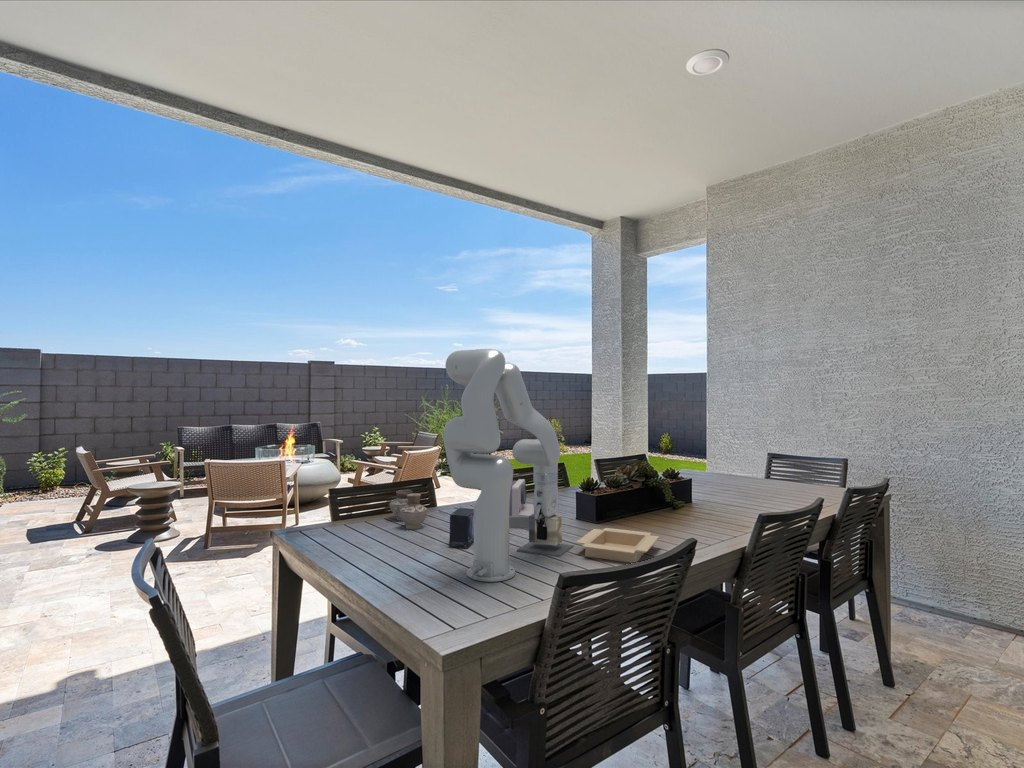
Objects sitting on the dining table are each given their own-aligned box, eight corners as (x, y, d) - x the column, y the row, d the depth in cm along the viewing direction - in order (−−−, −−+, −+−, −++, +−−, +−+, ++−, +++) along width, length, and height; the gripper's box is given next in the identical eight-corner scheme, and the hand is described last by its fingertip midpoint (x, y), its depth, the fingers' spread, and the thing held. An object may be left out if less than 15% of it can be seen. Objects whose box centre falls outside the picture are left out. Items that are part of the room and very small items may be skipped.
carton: (644, 568, 148) (644, 554, 148) (572, 558, 157) (572, 544, 157) (660, 546, 169) (660, 534, 169) (596, 538, 179) (596, 526, 179)
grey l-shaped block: (530, 531, 189) (530, 488, 190) (475, 526, 196) (475, 485, 196) (545, 518, 209) (545, 479, 210) (495, 514, 216) (495, 477, 216)
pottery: (401, 532, 187) (401, 498, 187) (386, 517, 209) (386, 486, 209) (433, 529, 191) (433, 495, 192) (415, 515, 214) (415, 484, 214)
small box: (468, 549, 166) (468, 515, 167) (448, 548, 168) (448, 514, 168) (477, 540, 177) (477, 508, 177) (458, 539, 178) (458, 507, 178)
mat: (559, 557, 158) (559, 555, 158) (516, 551, 164) (516, 549, 164) (573, 547, 168) (573, 545, 168) (532, 541, 175) (532, 540, 175)
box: (556, 545, 162) (556, 518, 162) (528, 541, 166) (528, 515, 166) (561, 541, 166) (561, 515, 167) (535, 538, 170) (535, 512, 171)
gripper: (546, 483, 157) (546, 545, 157) (566, 475, 173) (566, 532, 172) (523, 481, 161) (523, 542, 160) (544, 473, 176) (544, 529, 176)
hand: (545, 536), depth 166 cm, fingers closed on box, 5 cm apart
